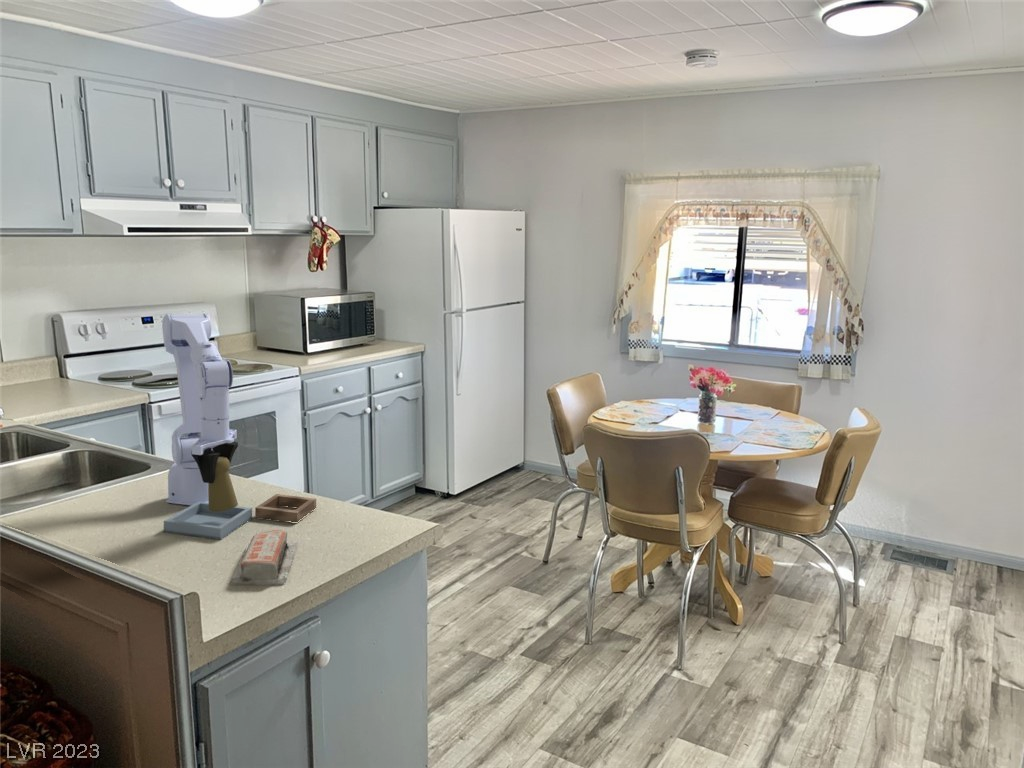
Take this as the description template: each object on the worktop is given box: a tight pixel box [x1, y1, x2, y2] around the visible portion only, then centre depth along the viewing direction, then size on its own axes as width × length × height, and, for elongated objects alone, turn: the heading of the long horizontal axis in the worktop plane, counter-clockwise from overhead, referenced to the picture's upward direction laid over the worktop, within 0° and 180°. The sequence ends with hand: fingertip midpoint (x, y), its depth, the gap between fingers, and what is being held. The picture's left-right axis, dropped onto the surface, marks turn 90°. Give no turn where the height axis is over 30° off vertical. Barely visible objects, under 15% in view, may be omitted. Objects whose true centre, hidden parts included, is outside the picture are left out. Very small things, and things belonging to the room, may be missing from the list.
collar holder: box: [254, 493, 317, 522], centre depth 180 cm, size 10×10×2 cm
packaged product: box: [230, 529, 299, 586], centre depth 153 cm, size 18×5×10 cm
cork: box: [208, 457, 239, 512], centre depth 170 cm, size 6×6×11 cm
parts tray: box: [163, 501, 253, 541], centre depth 170 cm, size 13×13×2 cm
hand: (215, 478), depth 169 cm, fingers closed on cork, 5 cm apart
